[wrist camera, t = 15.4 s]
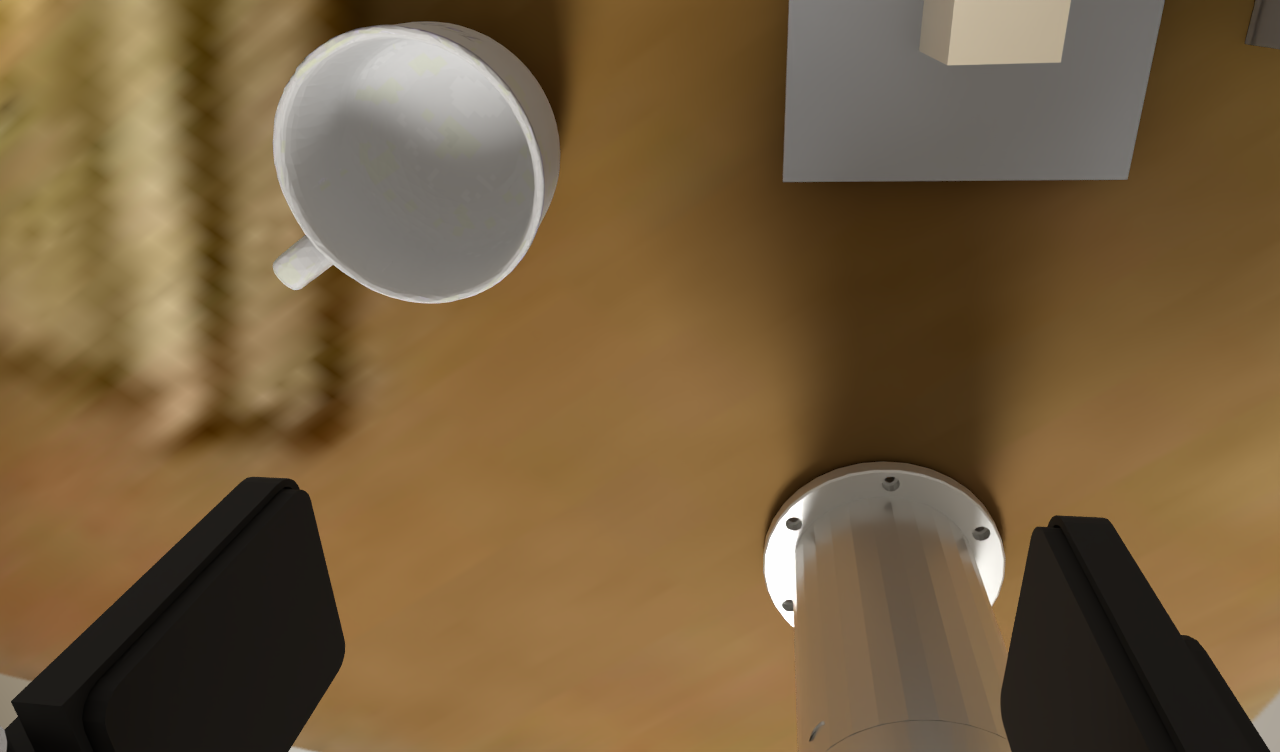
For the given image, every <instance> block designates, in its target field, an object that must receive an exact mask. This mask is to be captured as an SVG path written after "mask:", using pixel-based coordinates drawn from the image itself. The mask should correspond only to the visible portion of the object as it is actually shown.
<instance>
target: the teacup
mask: <svg viewBox="0 0 1280 752" xmlns="http://www.w3.org/2000/svg"><path fill="white" fill-rule="evenodd" d="M273 153H274V164H275V167H276V171H277V177H278V181H279V184H280V186H281V189H282V192H283V194H284V197H285V199H286V201H287V203H288V205H289V207H290V209H291V211H292V213H293V215H294V217H295V219H296V220H297V222H298V223H299V225H300V226H301V228H302V230H303V231H304V233H305V234H306V235H305V236H303V237H302V238H301V239H300V240H299V241H297V242H296V243H295V244H294V245H292V246H291V247H290V248H289V249H288V250H287V251H285V252H284V253H283V254H281V255H280V256H279V257H278V258H277V259H276V260H275V262H274V263H273V270H274V273H275V274H276V276H277V277H278V278H279V279H280V280H281V281H282V282H283V283H284V285H286V286H287V287H289V288H291V289H293V290H299V289H302V288H303V287H304V286H306V285H307V284H308V283H310V282H311V281H312V280H314V279H315V278H316V277H318V276H319V275H320V274H322V273H323V272H324V271H325V270H327V269H328V268H329V267H330V266H332V265H334V266H336V267H337V268H338V269H340V270H341V271H342V272H343V273H345V274H346V275H348V276H350V277H351V278H353V279H355V280H356V281H358V282H359V283H361V284H362V285H364V286H366V287H368V288H369V289H371V290H373V291H376V292H378V293H381V294H383V295H386V296H389V297H392V298H396V299H400V300H404V301H408V302H416V303H446V302H452V301H456V300H460V299H464V298H467V297H471V296H474V295H477V294H479V293H481V292H483V291H485V290H487V289H489V288H491V287H492V286H494V285H496V284H497V283H499V282H500V281H501V280H502V279H503V278H505V277H506V276H507V275H508V274H509V273H510V272H511V271H512V270H513V269H514V268H515V267H516V266H517V264H518V263H519V262H520V261H521V260H522V258H523V257H524V256H525V254H526V252H527V251H528V249H529V247H530V246H531V244H532V242H533V239H534V237H535V235H536V233H537V230H538V227H539V225H540V224H541V222H542V220H543V218H544V216H545V214H546V212H547V210H548V208H549V205H550V203H551V201H552V198H553V195H554V192H555V188H556V185H557V181H558V176H559V169H560V142H559V134H558V129H557V124H556V121H555V117H554V114H553V111H552V109H551V106H550V104H549V101H548V99H547V97H546V95H545V93H544V91H543V89H542V88H541V86H540V84H539V83H538V81H537V80H536V78H535V77H534V76H533V75H532V73H531V72H530V71H529V69H528V68H527V67H526V66H525V65H524V64H523V63H522V62H521V61H520V60H519V59H518V58H517V57H516V56H515V55H514V54H513V53H512V52H510V51H509V50H508V49H507V48H505V47H504V46H503V45H501V44H499V43H498V42H496V41H495V40H493V39H491V38H490V37H488V36H486V35H484V34H482V33H479V32H477V31H475V30H472V29H469V28H466V27H463V26H460V25H456V24H451V23H444V22H428V21H425V22H409V23H402V24H395V25H377V26H370V27H363V28H357V29H354V30H352V31H349V32H346V33H344V34H341V35H339V36H336V37H334V38H331V39H329V40H328V41H327V42H326V43H324V44H322V45H321V46H319V47H318V48H317V49H315V50H314V51H313V52H312V53H311V54H309V55H308V56H306V58H305V59H304V61H303V62H302V63H301V64H300V65H299V66H298V67H297V69H296V72H295V74H294V75H293V76H292V77H291V79H290V81H289V82H288V84H287V85H286V87H285V88H284V92H283V94H282V96H281V98H280V101H279V104H278V107H277V111H276V115H275V120H274V135H273Z"/></svg>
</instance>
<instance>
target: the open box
mask: <svg viewBox="0 0 1280 752" xmlns="http://www.w3.org/2000/svg"><path fill="white" fill-rule="evenodd" d="M1245 44H1248V45H1255V46H1262V47H1268V48H1275V49H1280V0H1256V1H1255V5H1254V9H1253V13H1252V17H1251V21H1250V25H1249V29H1248V33H1247V37H1246V41H1245Z"/></svg>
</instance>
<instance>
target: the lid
mask: <svg viewBox="0 0 1280 752" xmlns="http://www.w3.org/2000/svg"><path fill="white" fill-rule="evenodd" d="M1164 2H1165V0H789V5H788V35H787V64H786V93H785V122H784V151H783V182H863V181H1002V180H1127V179H1128V174H1129V170H1130V165H1131V160H1132V155H1133V151H1134V146H1135V141H1136V136H1137V131H1138V127H1139V122H1140V117H1141V112H1142V107H1143V103H1144V98H1145V93H1146V88H1147V83H1148V79H1149V74H1150V69H1151V64H1152V60H1153V55H1154V50H1155V45H1156V40H1157V36H1158V31H1159V26H1160V21H1161V16H1162V12H1163V7H1164Z"/></svg>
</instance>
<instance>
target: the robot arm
mask: <svg viewBox="0 0 1280 752" xmlns="http://www.w3.org/2000/svg"><path fill="white" fill-rule="evenodd" d="M887 477H891V478H887ZM763 573H764V577H765V582H766V587H767V590H768V593H769V595H770V597H771V599H772V601H773V603H774V605H775V607H776V608H777V610H778V611H779V612H780V614H781V615H782V616H783V618H784V619H785V620H786V621H787V622H788V623H789V624H790V625H791V626H792V627H794V649H795V679H796V709H797V740H798V752H1270V750H1269V749H1268V747H1267V746H1266V744H1265V743H1264V741H1263V739H1262V738H1261V736H1260V735H1259V733H1258V732H1257V730H1256V729H1255V727H1254V725H1253V724H1252V722H1251V721H1250V719H1249V718H1248V716H1247V715H1246V713H1245V711H1244V710H1243V708H1242V707H1241V705H1240V704H1239V702H1238V701H1237V699H1236V697H1235V696H1234V694H1233V693H1232V691H1231V690H1230V688H1229V686H1228V685H1227V683H1226V682H1225V680H1224V679H1223V677H1222V676H1221V674H1220V672H1219V671H1218V669H1217V668H1216V666H1215V665H1214V663H1213V662H1212V660H1211V658H1210V657H1209V655H1208V654H1207V652H1206V651H1205V650H1204V648H1203V647H1202V646H1201V645H1200V644H1199V642H1198V641H1197V640H1195V639H1193V638H1191V637H1189V636H1186V635H1180V633H1179V631H1178V630H1177V628H1176V627H1175V625H1174V623H1173V622H1172V620H1171V619H1170V617H1169V615H1168V614H1167V612H1166V610H1165V609H1164V607H1163V606H1162V604H1161V602H1160V601H1159V599H1158V598H1157V596H1156V594H1155V593H1154V591H1153V589H1152V588H1151V586H1150V585H1149V583H1148V581H1147V580H1146V578H1145V577H1144V575H1143V573H1142V572H1141V570H1140V569H1139V567H1138V565H1137V564H1136V562H1135V560H1134V559H1133V557H1132V556H1131V554H1130V552H1129V551H1128V549H1127V548H1126V546H1125V544H1124V543H1123V541H1122V539H1121V538H1120V536H1119V535H1118V533H1117V531H1116V530H1115V528H1114V527H1113V525H1112V524H1111V522H1110V521H1109V520H1108V519H1105V518H1097V517H1076V516H1054V517H1052V519H1051V520H1050V522H1049V524H1048V527H1036V528H1035V529H1034V531H1033V533H1032V536H1031V541H1030V546H1029V551H1028V556H1027V561H1026V566H1025V571H1024V576H1023V582H1022V587H1021V592H1020V597H1019V602H1018V607H1017V612H1016V617H1015V622H1014V627H1013V632H1012V638H1011V643H1010V648H1009V653H1007V650H1006V647H1005V644H1004V641H1003V638H1002V635H1001V633H1000V630H999V627H998V624H997V621H996V618H995V615H994V612H993V610H992V606H993V604H994V602H995V600H996V599H997V597H998V595H999V593H1000V589H1001V586H1002V583H1003V580H1004V574H1005V554H1004V549H1003V544H1002V539H1001V537H1000V534H999V532H998V529H997V527H996V524H995V522H994V520H993V519H992V517H991V515H990V514H989V512H988V511H987V509H986V507H985V506H984V505H983V504H982V503H981V501H980V500H979V499H978V498H977V497H976V496H975V495H974V494H973V493H972V492H971V491H970V490H968V489H967V488H965V487H964V486H962V485H961V484H960V483H958V482H957V481H955V480H954V479H952V478H950V477H948V476H946V475H943V474H941V473H939V472H937V471H934V470H932V469H929V468H925V467H921V466H917V465H913V464H909V463H898V462H886V461H882V462H869V463H859V464H855V465H851V466H847V467H843V468H838V469H836V470H833V471H831V472H829V473H826V474H824V475H822V476H819V477H817V478H815V479H814V480H812V481H811V482H809V483H807V484H806V485H804V486H803V487H801V488H800V489H798V490H797V491H796V492H795V493H794V494H793V495H792V496H791V497H790V498H789V499H788V500H787V501H786V502H785V503H784V504H783V505H782V507H781V508H780V510H779V511H778V513H777V514H776V515H775V517H774V518H773V520H772V523H771V525H770V528H769V530H768V533H767V535H766V539H765V546H764V552H763ZM344 654H345V641H344V636H343V632H342V628H341V624H340V619H339V615H338V611H337V607H336V603H335V599H334V595H333V590H332V586H331V582H330V578H329V574H328V570H327V566H326V561H325V557H324V553H323V549H322V545H321V541H320V537H319V532H318V528H317V524H316V520H315V516H314V512H313V508H312V503H311V500H310V497H309V495H308V494H307V492H306V491H304V490H300V489H299V487H298V485H297V484H296V482H295V481H294V480H291V479H287V478H266V477H249V478H246V479H245V480H243V481H242V482H241V483H240V484H239V485H238V486H237V487H235V488H234V489H233V490H232V491H231V492H230V493H229V494H228V495H227V496H226V497H225V498H224V499H223V500H222V501H221V502H220V503H219V504H218V505H217V506H216V507H214V508H213V509H212V510H211V511H210V512H209V513H208V514H207V515H206V516H205V517H204V518H203V519H202V520H201V521H200V522H199V523H198V524H197V525H196V526H195V527H193V528H192V529H191V530H190V531H189V532H188V533H187V534H186V535H185V536H184V537H183V538H182V539H181V540H180V541H179V542H178V543H177V544H176V545H175V546H174V547H172V548H171V549H170V550H169V551H168V552H167V553H166V554H165V555H164V556H163V557H162V558H161V559H160V560H159V561H158V562H157V563H156V564H155V565H154V566H153V567H152V568H150V569H149V570H148V571H147V572H146V573H145V574H144V575H143V576H142V577H141V578H140V579H139V580H138V581H137V582H136V583H135V584H134V585H133V586H132V587H131V588H129V589H128V590H127V591H126V592H125V593H124V594H123V595H122V596H121V597H120V598H119V599H118V600H117V601H116V602H115V603H114V604H113V605H112V606H111V607H110V608H108V609H107V610H106V611H105V612H104V613H103V614H102V615H101V616H100V617H99V618H98V619H97V620H96V621H95V622H94V623H93V624H92V625H91V626H90V627H89V628H88V629H86V630H85V631H84V632H83V633H82V634H81V635H80V636H79V637H78V638H77V639H76V640H75V641H74V642H73V643H72V644H71V645H70V646H69V647H68V648H67V649H65V650H64V651H63V652H62V653H61V654H60V655H59V656H58V657H57V658H56V659H55V660H54V661H53V662H52V663H51V664H50V665H49V666H48V667H47V668H46V669H44V670H43V671H42V672H41V673H40V674H39V675H38V676H37V677H36V678H35V679H34V680H33V681H32V682H31V683H30V684H29V685H28V686H27V687H26V688H25V689H24V690H23V691H21V692H20V693H19V694H18V695H17V696H16V697H15V698H14V699H13V700H12V701H11V703H12V705H13V707H14V709H15V711H16V713H17V715H18V717H17V718H16V719H15V720H14V721H13V722H12V723H11V724H10V725H9V726H8V727H7V728H6V729H5V730H4V729H3V728H2V727H1V726H0V752H288V751H289V750H290V748H291V746H292V745H293V743H294V742H295V740H296V738H297V737H298V735H299V734H300V732H301V730H302V729H303V727H304V726H305V724H306V722H307V721H308V719H309V718H310V716H311V714H312V713H313V711H314V710H315V708H316V706H317V705H318V703H319V702H320V700H321V698H322V697H323V695H324V694H325V692H326V690H327V689H328V687H329V686H330V684H331V682H332V681H333V679H334V678H335V676H336V674H337V673H338V671H339V669H340V667H341V665H342V662H343V659H344Z"/></svg>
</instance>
